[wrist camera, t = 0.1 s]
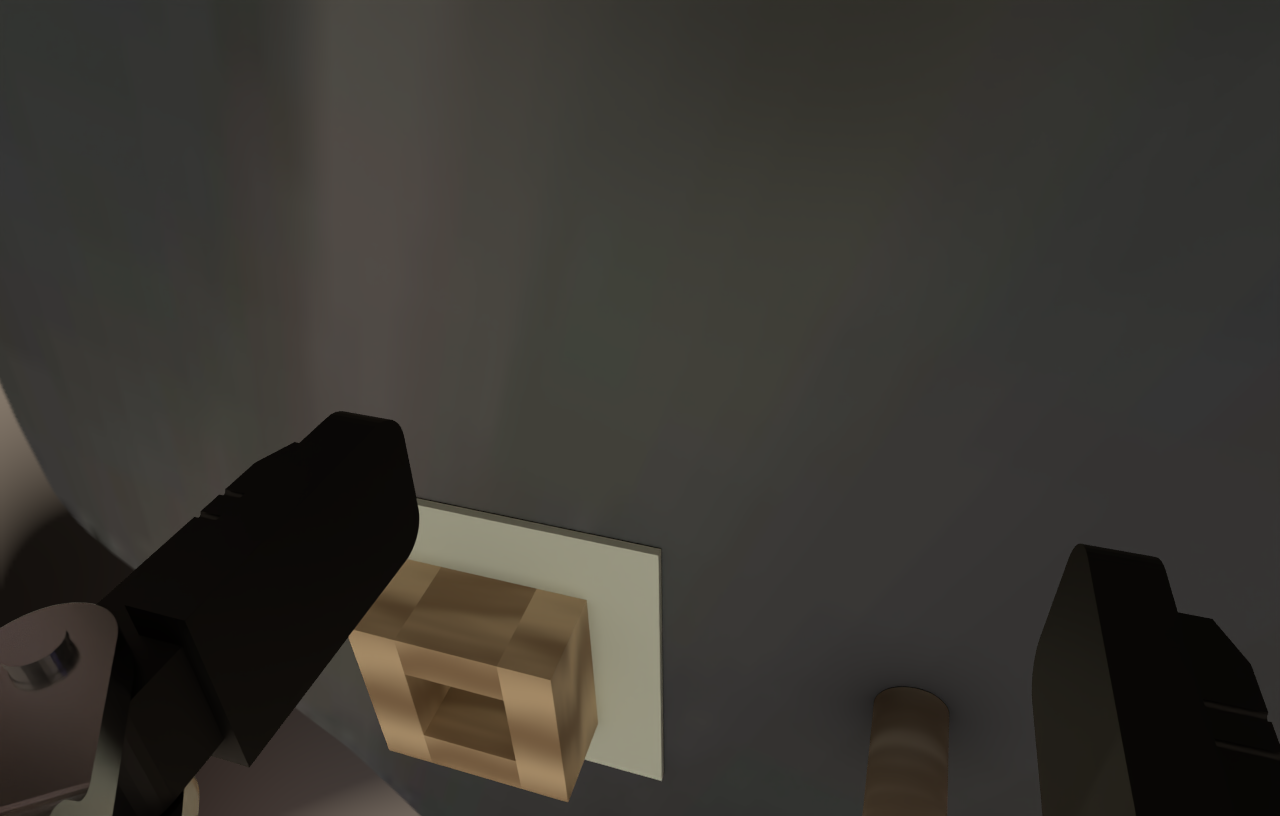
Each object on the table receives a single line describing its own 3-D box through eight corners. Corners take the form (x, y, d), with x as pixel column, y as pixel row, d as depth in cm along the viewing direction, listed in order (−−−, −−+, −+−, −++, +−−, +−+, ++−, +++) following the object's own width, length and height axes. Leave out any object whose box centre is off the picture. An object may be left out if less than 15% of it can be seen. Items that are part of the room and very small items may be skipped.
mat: (355, 485, 40) (350, 490, 40) (661, 549, 37) (658, 555, 36) (422, 707, 51) (419, 713, 51) (663, 774, 47) (661, 780, 47)
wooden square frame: (395, 556, 42) (344, 627, 39) (586, 600, 40) (550, 680, 36) (430, 678, 48) (389, 750, 45) (598, 723, 46) (568, 802, 42)
